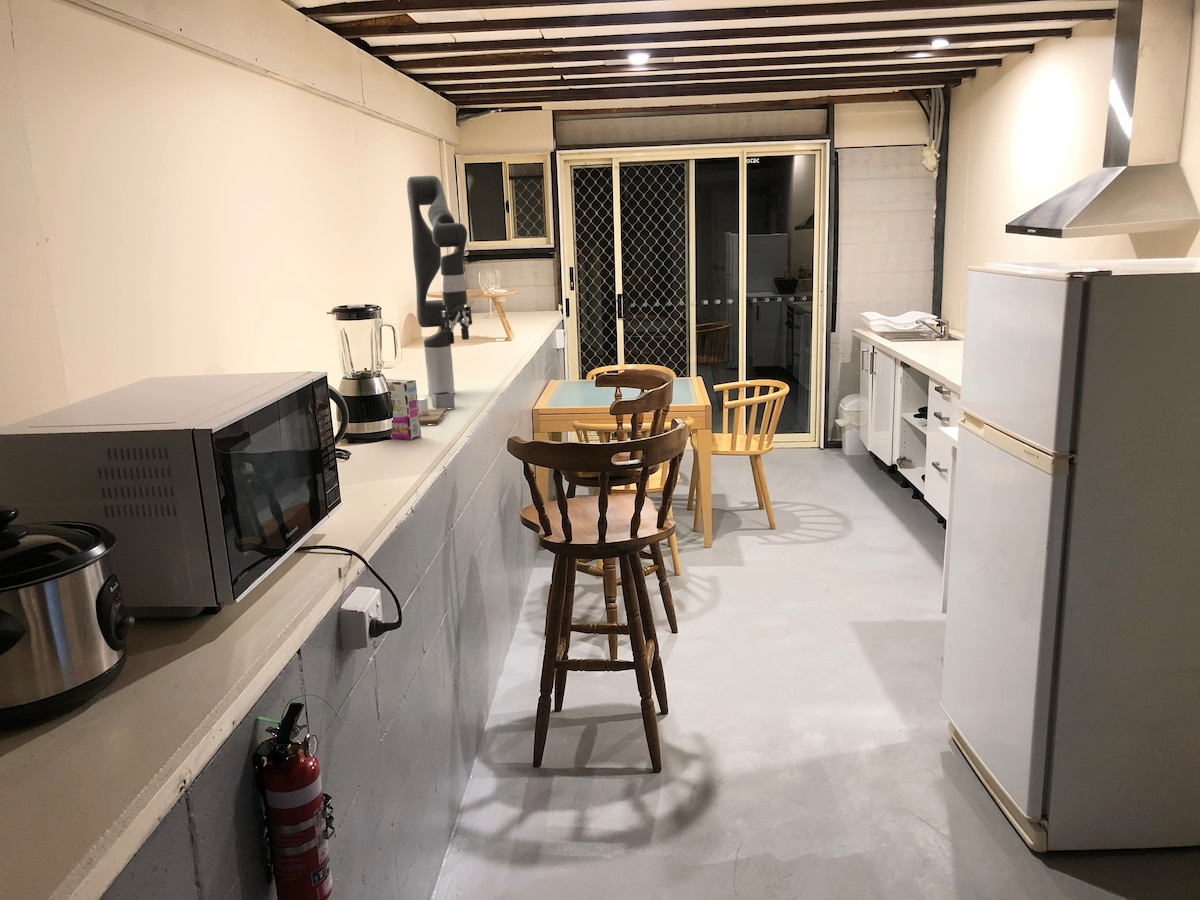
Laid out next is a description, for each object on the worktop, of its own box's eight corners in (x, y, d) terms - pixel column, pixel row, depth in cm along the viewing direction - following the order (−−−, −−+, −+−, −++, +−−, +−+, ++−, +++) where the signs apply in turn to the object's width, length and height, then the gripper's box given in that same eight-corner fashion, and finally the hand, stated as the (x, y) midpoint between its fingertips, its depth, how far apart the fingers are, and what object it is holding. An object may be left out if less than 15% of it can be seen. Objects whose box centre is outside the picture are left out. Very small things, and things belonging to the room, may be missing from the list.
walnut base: (409, 414, 288) (409, 410, 287) (446, 412, 288) (446, 408, 287) (397, 426, 270) (397, 421, 270) (437, 424, 270) (437, 420, 270)
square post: (416, 416, 278) (415, 399, 277) (422, 414, 281) (420, 398, 279) (422, 416, 277) (421, 400, 276) (428, 415, 279) (427, 398, 278)
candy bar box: (422, 436, 256) (416, 379, 252) (410, 440, 251) (405, 382, 248) (391, 434, 261) (385, 378, 257) (380, 438, 257) (374, 381, 253)
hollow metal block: (432, 408, 297) (431, 393, 296) (450, 405, 299) (449, 391, 298) (436, 411, 292) (435, 395, 290) (454, 408, 294) (453, 393, 293)
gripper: (456, 287, 287) (460, 338, 291) (430, 291, 274) (435, 344, 278) (476, 287, 284) (480, 338, 288) (451, 291, 271) (456, 345, 275)
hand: (458, 341), depth 283 cm, fingers open, 8 cm apart
